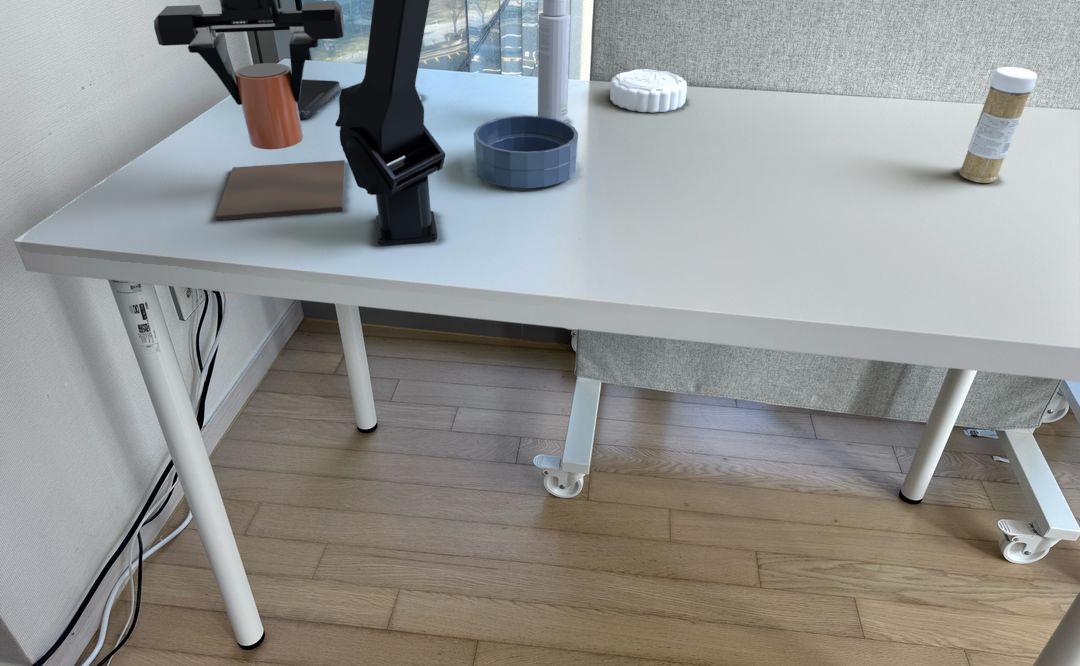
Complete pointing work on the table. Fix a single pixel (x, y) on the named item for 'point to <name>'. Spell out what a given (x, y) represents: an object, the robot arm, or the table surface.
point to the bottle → (553, 60)
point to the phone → (315, 96)
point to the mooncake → (648, 90)
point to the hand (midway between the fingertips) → (269, 102)
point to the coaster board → (283, 190)
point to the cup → (269, 105)
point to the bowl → (525, 151)
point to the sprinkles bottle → (997, 123)
